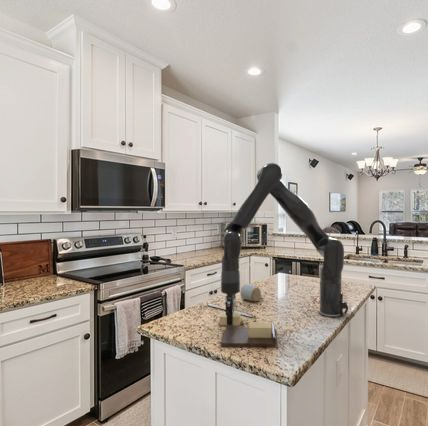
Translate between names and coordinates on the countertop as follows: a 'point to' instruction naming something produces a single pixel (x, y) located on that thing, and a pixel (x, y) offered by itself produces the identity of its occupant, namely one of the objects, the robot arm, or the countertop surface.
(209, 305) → the butter knife
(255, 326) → the beige rectangular block
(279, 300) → the countertop surface
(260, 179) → the robot arm
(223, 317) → the pad
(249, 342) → the board
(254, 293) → the ceramic mug
